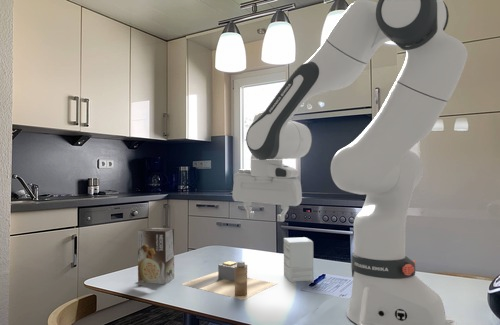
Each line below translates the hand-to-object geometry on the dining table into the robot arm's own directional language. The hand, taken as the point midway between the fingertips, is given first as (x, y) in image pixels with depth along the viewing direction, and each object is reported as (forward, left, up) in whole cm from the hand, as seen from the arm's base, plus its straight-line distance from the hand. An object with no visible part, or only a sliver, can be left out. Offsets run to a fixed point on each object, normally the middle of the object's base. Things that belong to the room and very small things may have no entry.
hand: (265, 219), depth 104 cm
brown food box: (+29, +14, -20) cm, 38 cm away
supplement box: (-4, -12, -20) cm, 24 cm away
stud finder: (+12, 0, -18) cm, 22 cm away
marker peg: (+1, +10, -18) cm, 21 cm away
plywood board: (+9, +5, -20) cm, 22 cm away
